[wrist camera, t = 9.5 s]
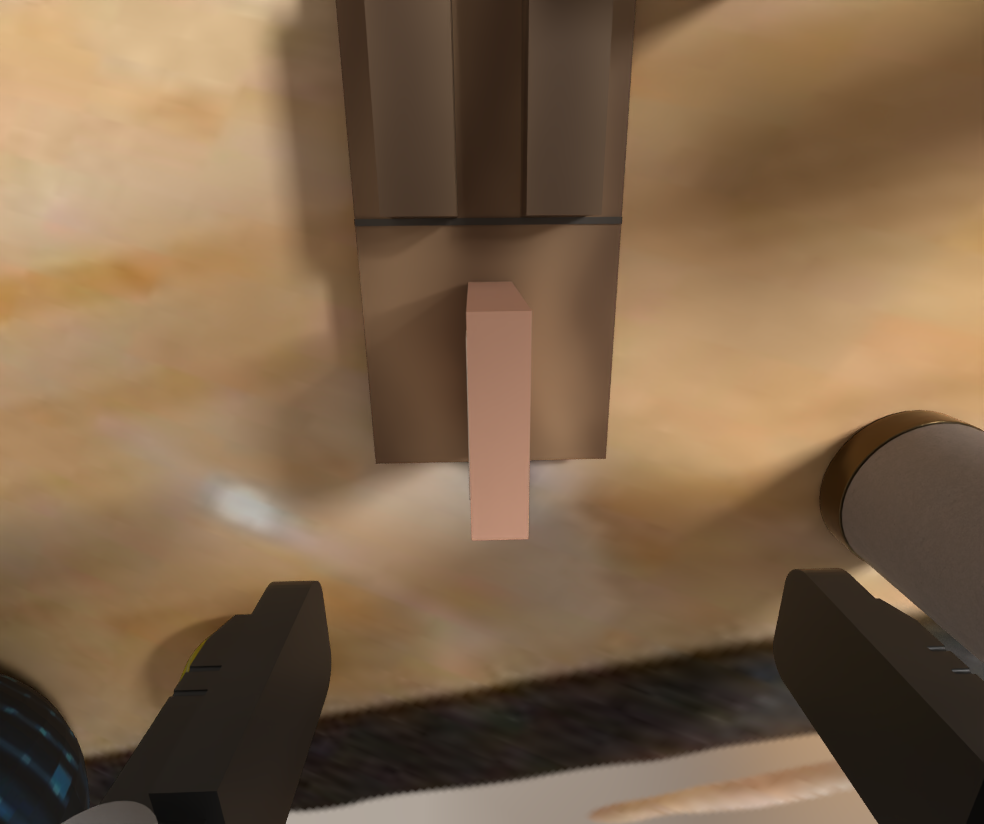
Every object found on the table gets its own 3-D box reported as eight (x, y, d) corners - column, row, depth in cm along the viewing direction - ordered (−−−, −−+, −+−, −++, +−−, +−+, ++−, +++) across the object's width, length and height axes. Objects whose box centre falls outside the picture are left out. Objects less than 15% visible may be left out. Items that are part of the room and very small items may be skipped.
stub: (512, 281, 25) (533, 310, 16) (511, 441, 27) (529, 539, 19) (467, 282, 25) (464, 311, 16) (470, 442, 27) (470, 540, 19)
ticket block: (625, -33, 23) (665, -101, 18) (597, 443, 30) (620, 484, 25) (342, -35, 23) (308, -104, 18) (382, 448, 30) (365, 490, 25)
